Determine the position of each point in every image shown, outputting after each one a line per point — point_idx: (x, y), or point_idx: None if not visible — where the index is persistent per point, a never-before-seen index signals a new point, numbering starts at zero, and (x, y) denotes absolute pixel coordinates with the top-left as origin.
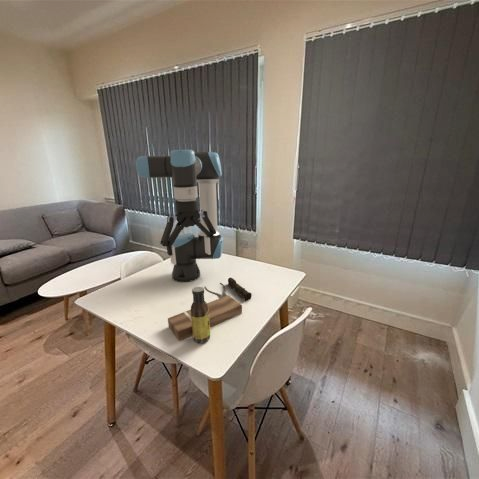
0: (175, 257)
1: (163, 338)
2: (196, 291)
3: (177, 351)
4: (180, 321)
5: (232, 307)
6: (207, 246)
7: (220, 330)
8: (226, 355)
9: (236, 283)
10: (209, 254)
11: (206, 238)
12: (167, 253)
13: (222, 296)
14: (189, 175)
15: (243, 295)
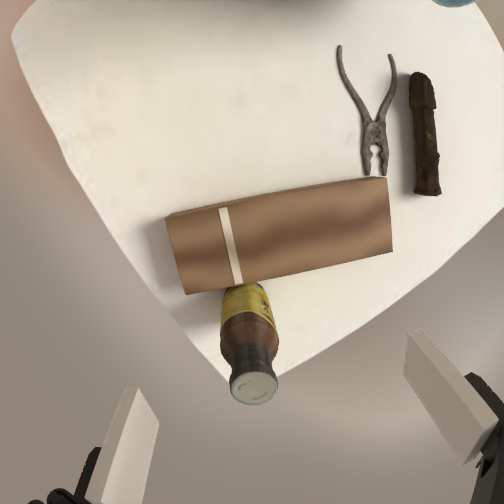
0: (150, 459)
1: (153, 256)
2: (243, 402)
3: (180, 313)
4: (199, 252)
5: (365, 251)
6: (432, 402)
7: (298, 287)
8: (275, 361)
9: (432, 118)
10: (406, 374)
11: (464, 446)
12: (90, 455)
13: (371, 134)
14: None
15: (421, 183)
